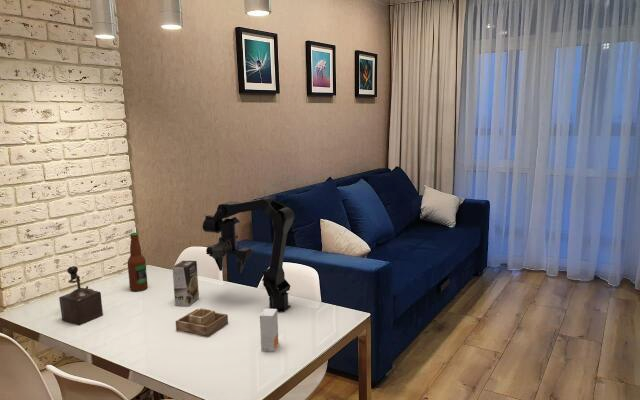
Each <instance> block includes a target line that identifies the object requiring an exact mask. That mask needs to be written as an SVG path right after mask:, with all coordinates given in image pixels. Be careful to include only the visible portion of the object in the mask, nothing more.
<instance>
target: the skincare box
mask: <svg viewBox="0 0 640 400" xmlns="http://www.w3.org/2000/svg"><path fill="white" fill-rule="evenodd" d="M268 308H269V307H268ZM268 308H267V307H266V308H265V309H264V310H263V311H262V312H261V314H260V315H259V324H260V327H259V328H260V351H261V352H270V353H271V352H272V353H273V352H275V350H276V348H277V347H278V345H279V324H278V323H279V322H278V321H279V320H278V319H279V318H278V311H277V309H268Z"/></svg>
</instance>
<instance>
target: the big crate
mask: <svg viewBox="0 0 640 400" xmlns="http://www.w3.org/2000/svg"><path fill="white" fill-rule="evenodd" d="M199 309H200V308H196V309H195V310H193V311H191V312H189V313H188V314H186V315H184V316H182V317H180V318H179V319H177V320H175V330H176V332H179V333H181V332H182V333H186V334H190V335H195V336H200V337H205V338H209V337H210V336H212V335H214V334H215V333H217V332H218V331H220V330H221V329H223V328H225V327H226V326H227V325H228V324H229V315H228V314H227V313H223V312H216V311H215V321H214V322H213V323H211V324H210V325H208V326H203V325H198V324H193V323H189V318H188V315H190V314H192V313H193V312H195V311H197V310H199Z"/></svg>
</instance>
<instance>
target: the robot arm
mask: <svg viewBox="0 0 640 400" xmlns="http://www.w3.org/2000/svg"><path fill="white" fill-rule="evenodd" d="M216 208H217V209H216V211H215V213H214V215H210V214H208V215H205V219H204V220H203V222H202V230H203V232H205V233H211V234H219V233H220V237H219V238H218V243H216V244H212V245H209V246H207V247H206V250H205V251H206V255H209V257H211V258H213V259H214V261H215V263H216V265H217V268H218V270H219V271H220V272H222V271H223V266H224V257H225V256H226V255H229V254H232V255H236V257H237V258H235V260H236V261H237V268H238V270H237V271H238V274H241V273H242V272H243V269H244V267H245V265H246V264H245V263H246V262H247V260H248V258H251V256H254V253H253V252H254V251H253V249H252V248H251V247H242V248H240V249H238V248H239V245H237V239H238V238H239V237H238V234H237V231H236V224H240V222H241V221H240V220H239V219H238V218H237V216H235V215H238V214H240V213H246V212H252V211H257V210H263V211H264V212H265V214H266V216H267V217H268V218H269V219H271V220H272V228H273V229H274V235H273V243H272V249H271V257H270V262H269V263H270V264H269V267H268V268H267V269H265V270H263V273H262V275H263V277H262V279H261V281H262V285H263V287H264V288H265V292H266V294H267V296H268V298H269V299H268V303H269V304H268V305H269V307H268V309H277V313H284V312H285V311H286V310H288V309H289V308H290V307H291V304H289V292H288V291H290V289H291V285H290V283H289V282H288V281H287V280H286V277H285V271H284V268H283V266H284V258H285V253H286V244H287V237H288V233H289V231H290V229H291V227H292V225H293V223H294V219H295V212H294V211H293V209H292V208H290V207H287V206H286V205H284V204H283V203H281V202H279V201H276V200H275V199H274V198H273V197H270V196H267V197H264V198H263V197H262V198H258V199H253V200H249V201H243V202H241V201H240V202H239V201H227V202H224V203H221V204H218V205H217V207H216ZM230 217H232V218H230Z"/></svg>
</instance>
